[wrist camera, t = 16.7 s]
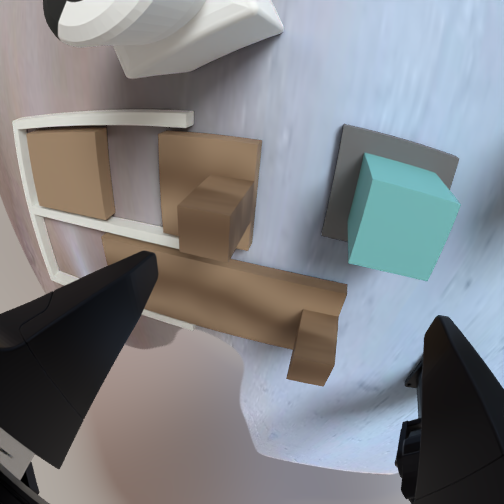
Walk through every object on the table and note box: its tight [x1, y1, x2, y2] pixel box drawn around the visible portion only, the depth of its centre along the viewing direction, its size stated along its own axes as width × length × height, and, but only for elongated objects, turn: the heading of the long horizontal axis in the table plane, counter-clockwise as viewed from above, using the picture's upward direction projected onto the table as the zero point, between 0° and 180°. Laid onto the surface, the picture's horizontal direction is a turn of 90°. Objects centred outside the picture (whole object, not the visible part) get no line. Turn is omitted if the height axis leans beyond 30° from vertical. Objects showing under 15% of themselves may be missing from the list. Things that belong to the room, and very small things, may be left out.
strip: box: [101, 232, 347, 386], centre depth 25 cm, size 8×22×6 cm, turn 85°
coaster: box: [321, 124, 459, 242], centre depth 19 cm, size 8×8×1 cm
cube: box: [347, 153, 461, 281], centre depth 17 cm, size 5×5×5 cm
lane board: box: [12, 109, 196, 331], centre depth 26 cm, size 21×21×2 cm
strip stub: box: [158, 130, 262, 263], centre depth 19 cm, size 8×7×6 cm
